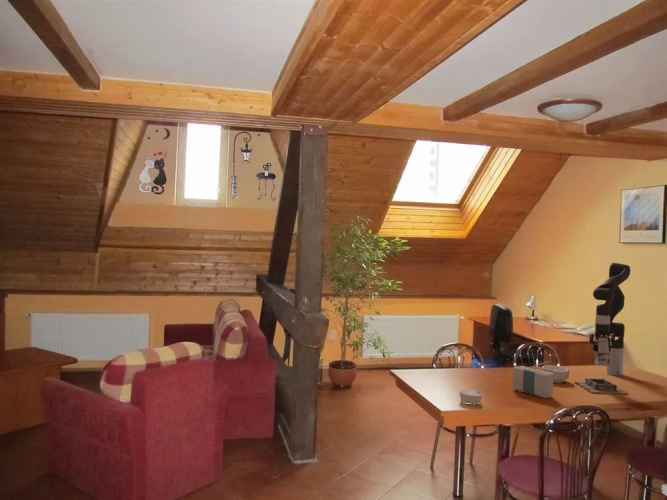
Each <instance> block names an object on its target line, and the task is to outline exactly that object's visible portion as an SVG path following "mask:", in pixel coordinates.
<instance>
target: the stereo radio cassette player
mask: <svg viewBox="0 0 667 500" xmlns="http://www.w3.org/2000/svg"><path fill="white" fill-rule="evenodd" d="M549 362H552V360H549V361H545V362H541V363H539V364H535V365H532V366H529V367H528V366H524V365H519V366H514V367H513V369H512V389H513V390H514V391H516V390H519V391H518V392H520V391H523V392H522V393H524V392H526V393H525V394H527V393H530V394H529V395H531V394H533V395H532V396H535V395H536V396H535V397H538V396H539V398H542V397H543V399H545V398H546V399H549V398H552V397H553V393H554V382H553V377H554V373H551V372H546V371H542V369H537V368H534V367H537V366H540V365H543V364H546V363H549Z"/></svg>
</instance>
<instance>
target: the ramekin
mask: <svg viewBox="0 0 667 500" xmlns="http://www.w3.org/2000/svg"><path fill="white" fill-rule="evenodd" d="M459 397H460V401H462V402H465V403H471V404H477V403H480V404H481V402H482V397H483V393H482V392H481V391H478V390H474V389H462V390H460V391H459ZM462 402H461V403H462Z"/></svg>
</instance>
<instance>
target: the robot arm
mask: <svg viewBox="0 0 667 500" xmlns="http://www.w3.org/2000/svg"><path fill="white" fill-rule="evenodd" d="M608 268H609V269H608V278H607V279H606V280H605V281H604V282H603V283H602V284H599V285H598V286H596V288H595V289H594V290H593V293H592V296H593V298H594V299H595V300H597V301H605V302H604V303H602V304H599V303H598V304H597V305H596V309H595V310H596V311H595V319H594V321H595V323H594V324H595V325H594V327H595V328H594V330H595V332H594V333H593V332H590V333H589V335H588V336H589V337H588V338H589V342H588V343H589V344H592V350H593V352H594V351H595V352H597V340H596V338H595V339H594V336H596V337H609V338H610V363H609V366H605V367H606V369H605V371H606V372H605V373H606V374H607V375H609V376H615V377H616V376H618V377H620V376H621V377H622V376H623V374H624V342H625V332H626V331H625V329H626V327H625V324H624V323H623V322H616V321H615V322H614V319H615V317H616V316H617V315H618V314H619V313H621V312H622V310H623V309H624V307H625V299H626V297H625V294H624V293H623V291H622V289H621V288H620V285H621V284H622V283H624V282H625V281H626V280H628V279H629V277H630V275H631V267H630V265H627V264H622V263H619V262H612V263H610V265H609V267H608ZM616 338H617V339H616Z"/></svg>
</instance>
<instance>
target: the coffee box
mask: <svg viewBox="0 0 667 500" xmlns="http://www.w3.org/2000/svg"><path fill="white" fill-rule="evenodd" d="M595 338H596V340H597V352H595V351H594V350H593V363H594V364H595V365H597V366H601V367H604V366H605V367H606V366H609V363H610V342H611V337H610V336H609V337H596V336H594V337H593V339H595Z"/></svg>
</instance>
